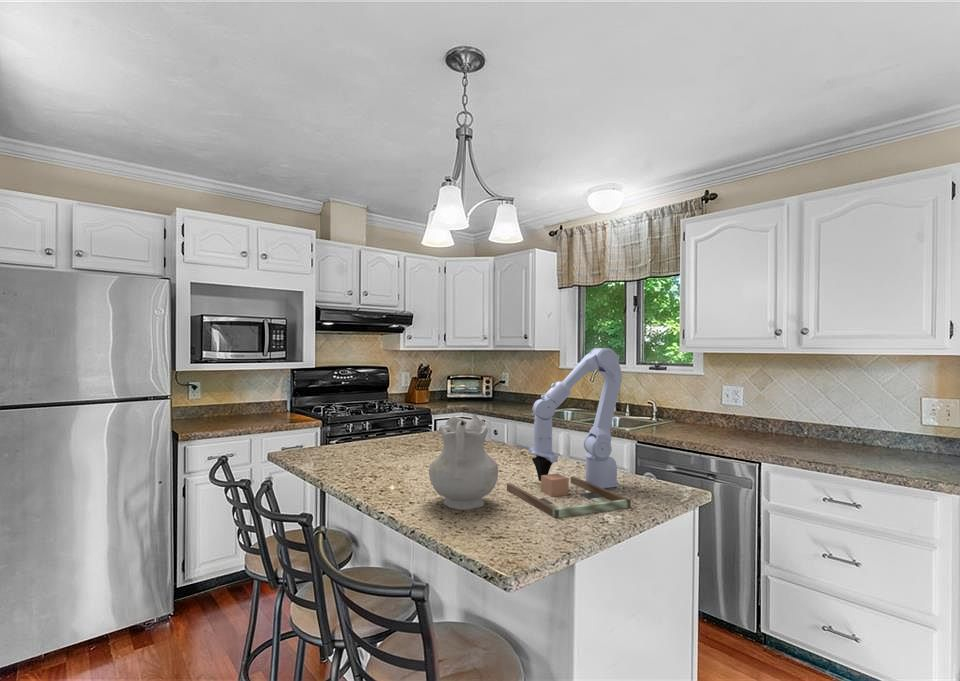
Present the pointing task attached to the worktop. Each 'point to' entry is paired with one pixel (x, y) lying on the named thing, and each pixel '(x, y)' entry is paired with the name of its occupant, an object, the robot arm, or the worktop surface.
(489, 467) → the ceramic pitcher
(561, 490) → the block
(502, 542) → the worktop surface
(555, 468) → the worktop surface
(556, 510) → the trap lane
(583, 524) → the worktop surface
